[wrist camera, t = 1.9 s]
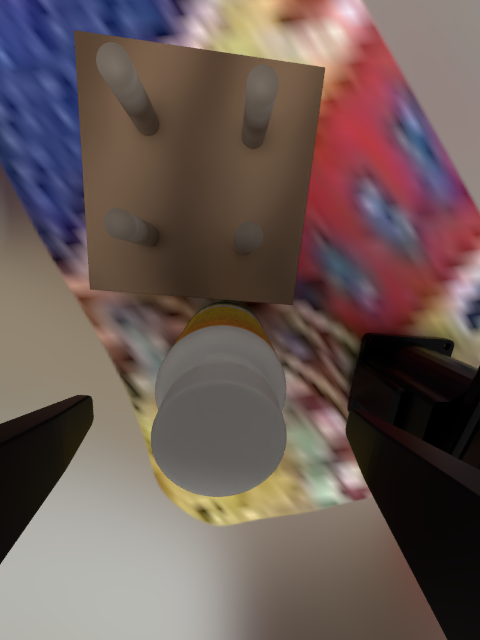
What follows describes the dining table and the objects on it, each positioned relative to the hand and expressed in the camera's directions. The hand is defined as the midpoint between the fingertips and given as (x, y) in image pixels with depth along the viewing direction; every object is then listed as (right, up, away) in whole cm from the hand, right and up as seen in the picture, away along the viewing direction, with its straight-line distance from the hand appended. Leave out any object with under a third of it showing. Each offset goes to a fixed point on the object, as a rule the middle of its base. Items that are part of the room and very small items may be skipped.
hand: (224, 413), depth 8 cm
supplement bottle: (-1, +2, +8) cm, 9 cm away
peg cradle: (-2, +11, +6) cm, 12 cm away
